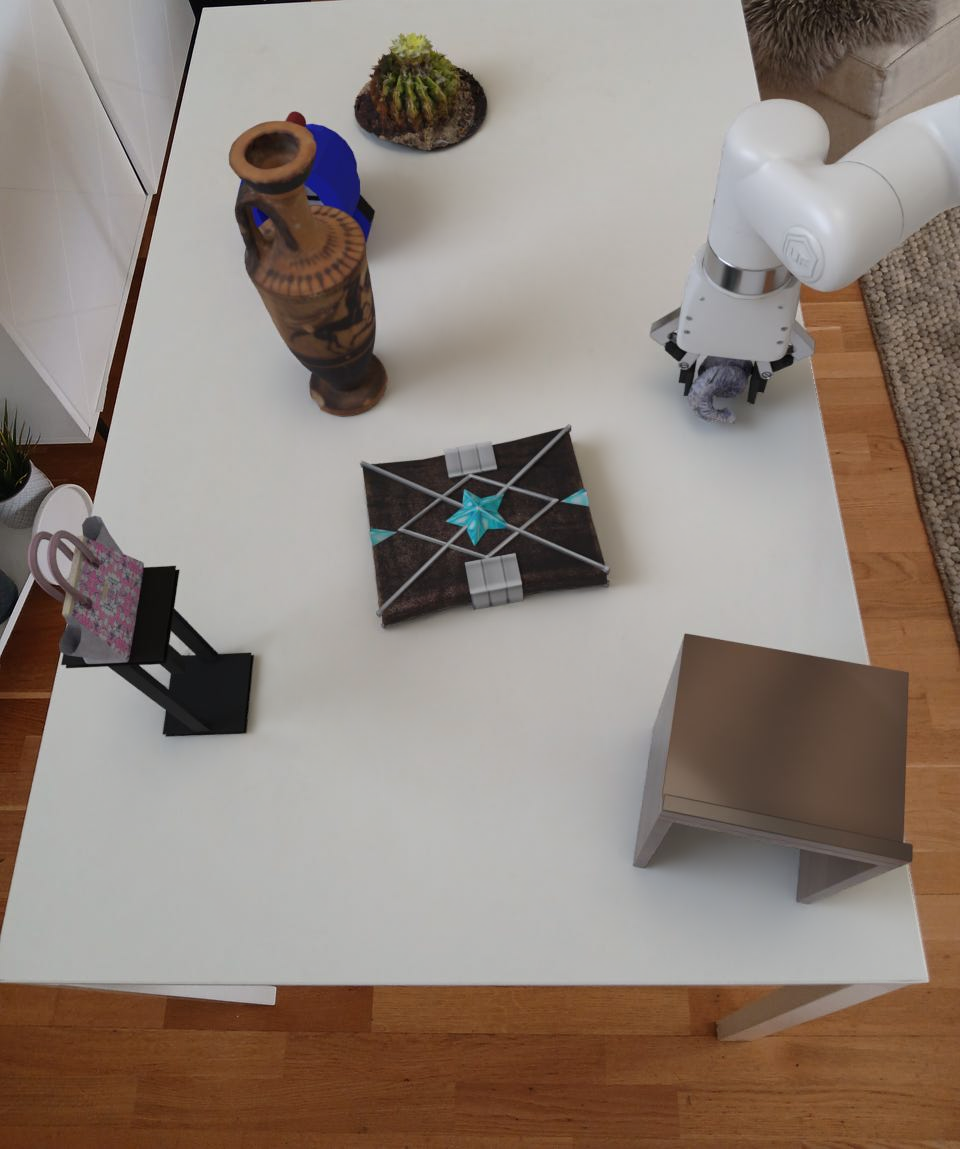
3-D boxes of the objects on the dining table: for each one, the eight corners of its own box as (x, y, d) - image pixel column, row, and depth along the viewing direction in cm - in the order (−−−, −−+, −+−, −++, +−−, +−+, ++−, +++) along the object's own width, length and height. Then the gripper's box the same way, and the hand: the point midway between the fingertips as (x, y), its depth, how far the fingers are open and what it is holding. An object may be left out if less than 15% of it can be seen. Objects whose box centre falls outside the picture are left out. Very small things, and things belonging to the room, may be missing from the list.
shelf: (819, 758, 77) (918, 663, 56) (808, 904, 72) (913, 862, 51) (653, 726, 79) (687, 623, 58) (632, 866, 74) (661, 810, 53)
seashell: (712, 439, 91) (728, 364, 96) (753, 419, 87) (768, 341, 91) (674, 412, 89) (692, 336, 94) (714, 390, 85) (731, 311, 89)
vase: (407, 347, 99) (350, 101, 72) (390, 429, 95) (324, 200, 68) (311, 342, 101) (220, 99, 74) (290, 423, 96) (186, 196, 69)
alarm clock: (256, 267, 106) (212, 159, 93) (282, 191, 111) (244, 79, 98) (357, 274, 105) (327, 165, 91) (379, 196, 110) (353, 82, 96)
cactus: (508, 85, 116) (504, 10, 108) (454, 168, 111) (445, 96, 102) (390, 56, 121) (377, -19, 112) (332, 135, 115) (313, 63, 106)
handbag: (244, 748, 81) (87, 619, 54) (163, 751, 82) (-33, 625, 55) (255, 639, 86) (115, 470, 59) (178, 642, 86) (4, 476, 59)
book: (383, 631, 85) (373, 610, 81) (363, 480, 92) (353, 453, 88) (610, 588, 85) (613, 565, 81) (572, 441, 93) (573, 412, 88)
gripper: (860, 230, 76) (810, 369, 92) (653, 212, 79) (640, 350, 95) (856, 298, 73) (805, 430, 89) (640, 277, 76) (629, 408, 92)
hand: (720, 387), depth 92 cm, fingers closed on seashell, 5 cm apart
